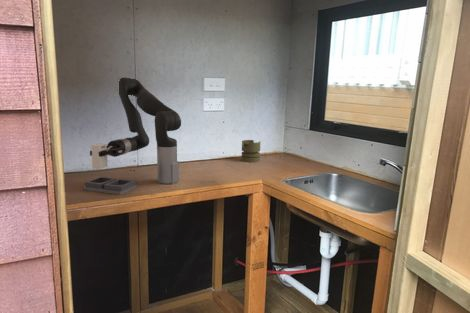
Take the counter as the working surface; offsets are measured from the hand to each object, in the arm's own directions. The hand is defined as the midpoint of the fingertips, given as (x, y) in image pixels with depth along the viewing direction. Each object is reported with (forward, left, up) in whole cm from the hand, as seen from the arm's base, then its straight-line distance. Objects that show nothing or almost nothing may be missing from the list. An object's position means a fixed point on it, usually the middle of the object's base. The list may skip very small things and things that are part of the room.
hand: (95, 153), depth 157 cm
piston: (-45, -86, -16) cm, 98 cm away
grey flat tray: (-5, -3, -16) cm, 17 cm away
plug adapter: (0, -3, -6) cm, 7 cm away
